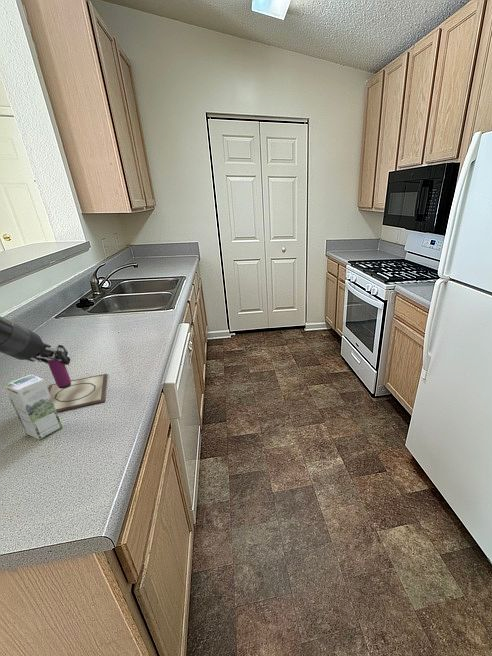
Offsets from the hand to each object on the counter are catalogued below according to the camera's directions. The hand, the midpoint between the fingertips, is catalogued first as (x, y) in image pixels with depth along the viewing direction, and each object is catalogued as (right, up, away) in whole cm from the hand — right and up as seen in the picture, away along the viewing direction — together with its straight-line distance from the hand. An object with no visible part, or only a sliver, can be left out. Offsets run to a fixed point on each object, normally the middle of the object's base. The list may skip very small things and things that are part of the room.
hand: (60, 361), depth 97 cm
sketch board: (+3, -10, +2) cm, 10 cm away
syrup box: (+6, -18, -13) cm, 23 cm away
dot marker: (0, -7, +1) cm, 7 cm away
